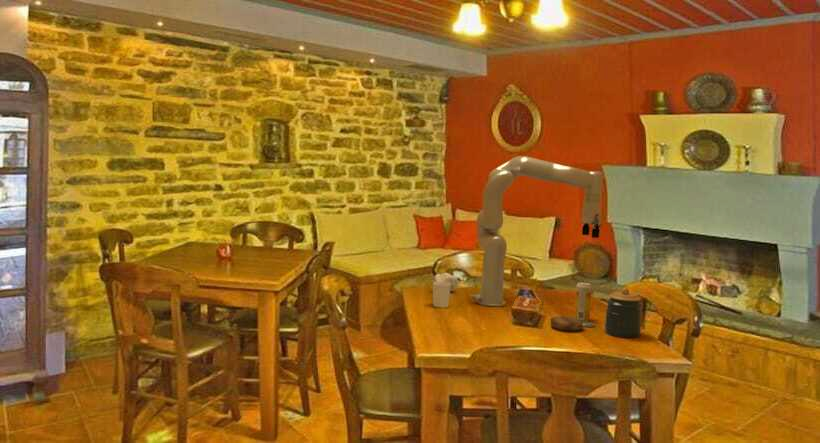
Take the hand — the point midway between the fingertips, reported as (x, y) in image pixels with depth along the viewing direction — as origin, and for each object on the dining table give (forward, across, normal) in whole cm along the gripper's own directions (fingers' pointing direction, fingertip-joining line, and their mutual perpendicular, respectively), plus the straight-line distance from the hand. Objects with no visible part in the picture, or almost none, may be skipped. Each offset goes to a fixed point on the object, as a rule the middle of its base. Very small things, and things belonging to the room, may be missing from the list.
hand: (590, 236), depth 274 cm
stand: (+31, +40, -27) cm, 57 cm away
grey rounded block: (+31, -23, -62) cm, 73 cm away
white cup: (+31, +4, -69) cm, 76 cm away
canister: (+31, +48, -8) cm, 58 cm away
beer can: (+31, +28, -15) cm, 45 cm away
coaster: (+31, +36, -17) cm, 51 cm away
